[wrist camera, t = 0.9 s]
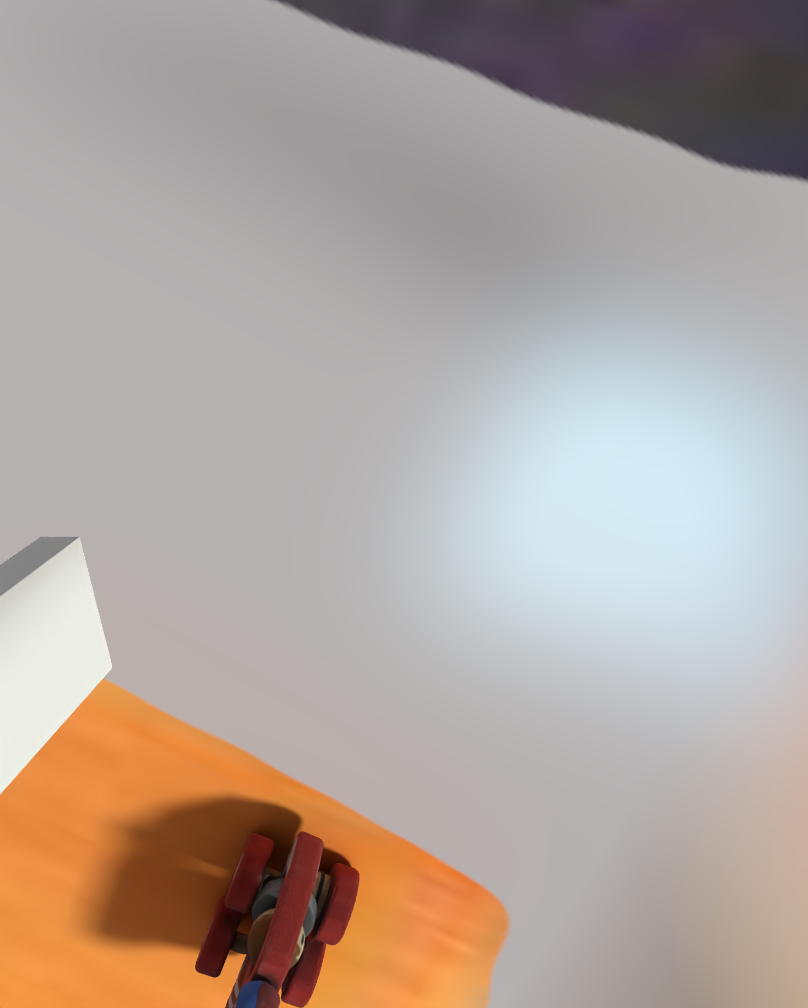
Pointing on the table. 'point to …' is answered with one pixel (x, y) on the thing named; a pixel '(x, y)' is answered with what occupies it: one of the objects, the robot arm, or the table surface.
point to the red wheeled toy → (279, 922)
